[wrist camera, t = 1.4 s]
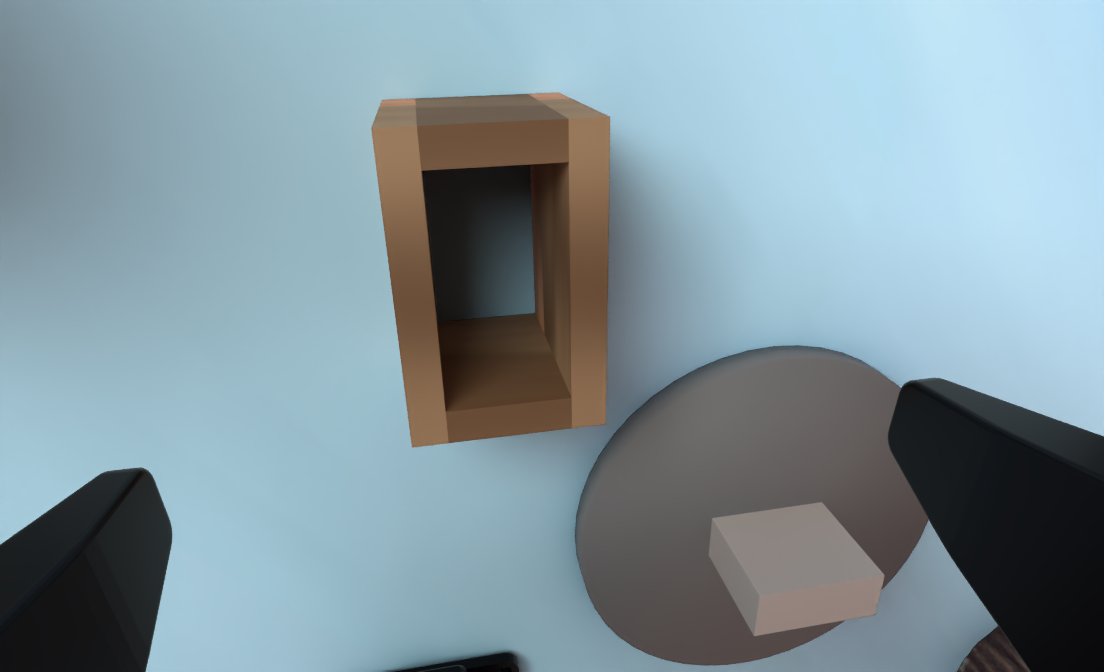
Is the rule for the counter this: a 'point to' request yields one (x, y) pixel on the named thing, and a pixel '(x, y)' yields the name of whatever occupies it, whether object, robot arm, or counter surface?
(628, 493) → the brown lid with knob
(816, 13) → the counter surface
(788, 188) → the counter surface
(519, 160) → the walnut sleeve
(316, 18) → the counter surface
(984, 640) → the cupcake
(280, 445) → the counter surface
